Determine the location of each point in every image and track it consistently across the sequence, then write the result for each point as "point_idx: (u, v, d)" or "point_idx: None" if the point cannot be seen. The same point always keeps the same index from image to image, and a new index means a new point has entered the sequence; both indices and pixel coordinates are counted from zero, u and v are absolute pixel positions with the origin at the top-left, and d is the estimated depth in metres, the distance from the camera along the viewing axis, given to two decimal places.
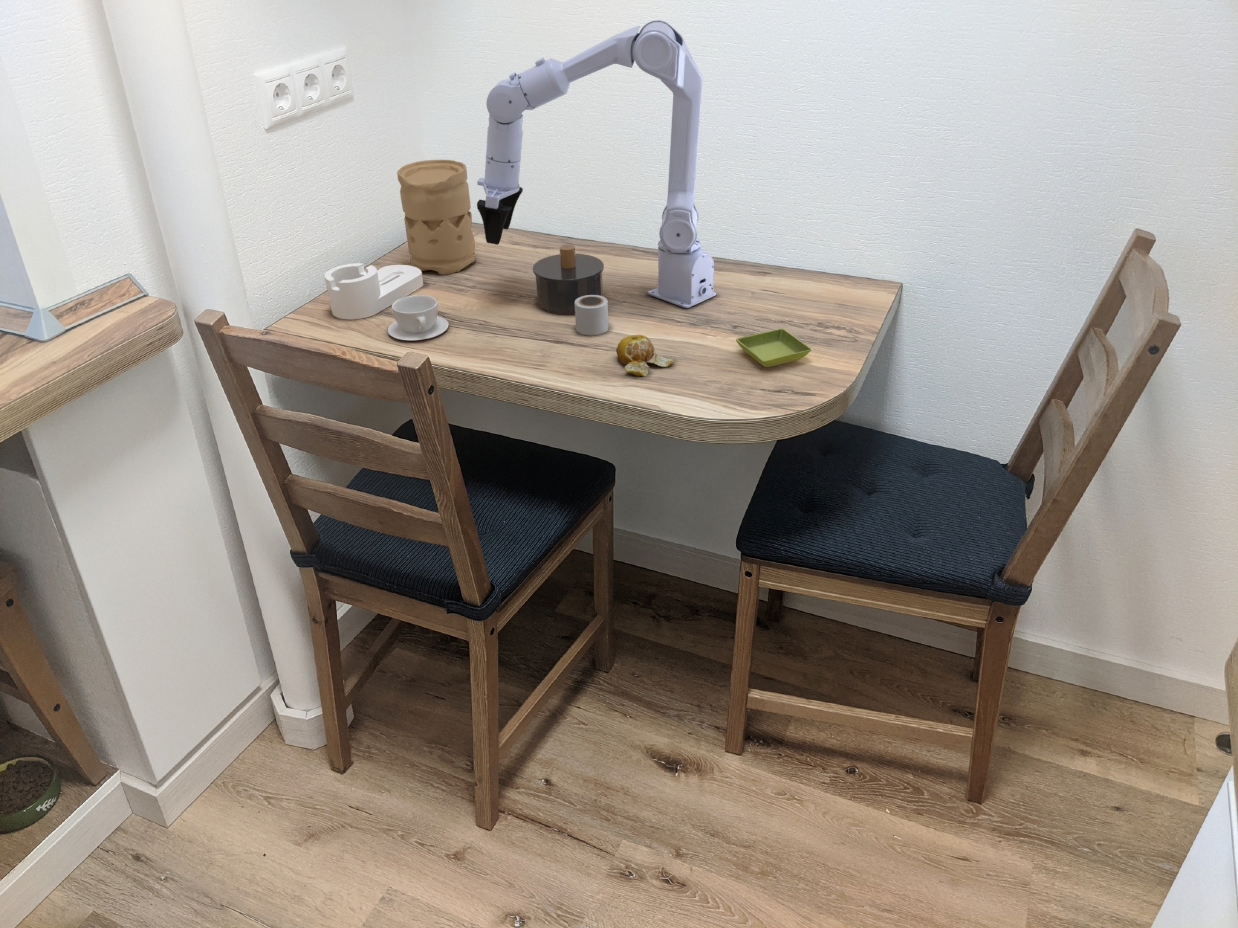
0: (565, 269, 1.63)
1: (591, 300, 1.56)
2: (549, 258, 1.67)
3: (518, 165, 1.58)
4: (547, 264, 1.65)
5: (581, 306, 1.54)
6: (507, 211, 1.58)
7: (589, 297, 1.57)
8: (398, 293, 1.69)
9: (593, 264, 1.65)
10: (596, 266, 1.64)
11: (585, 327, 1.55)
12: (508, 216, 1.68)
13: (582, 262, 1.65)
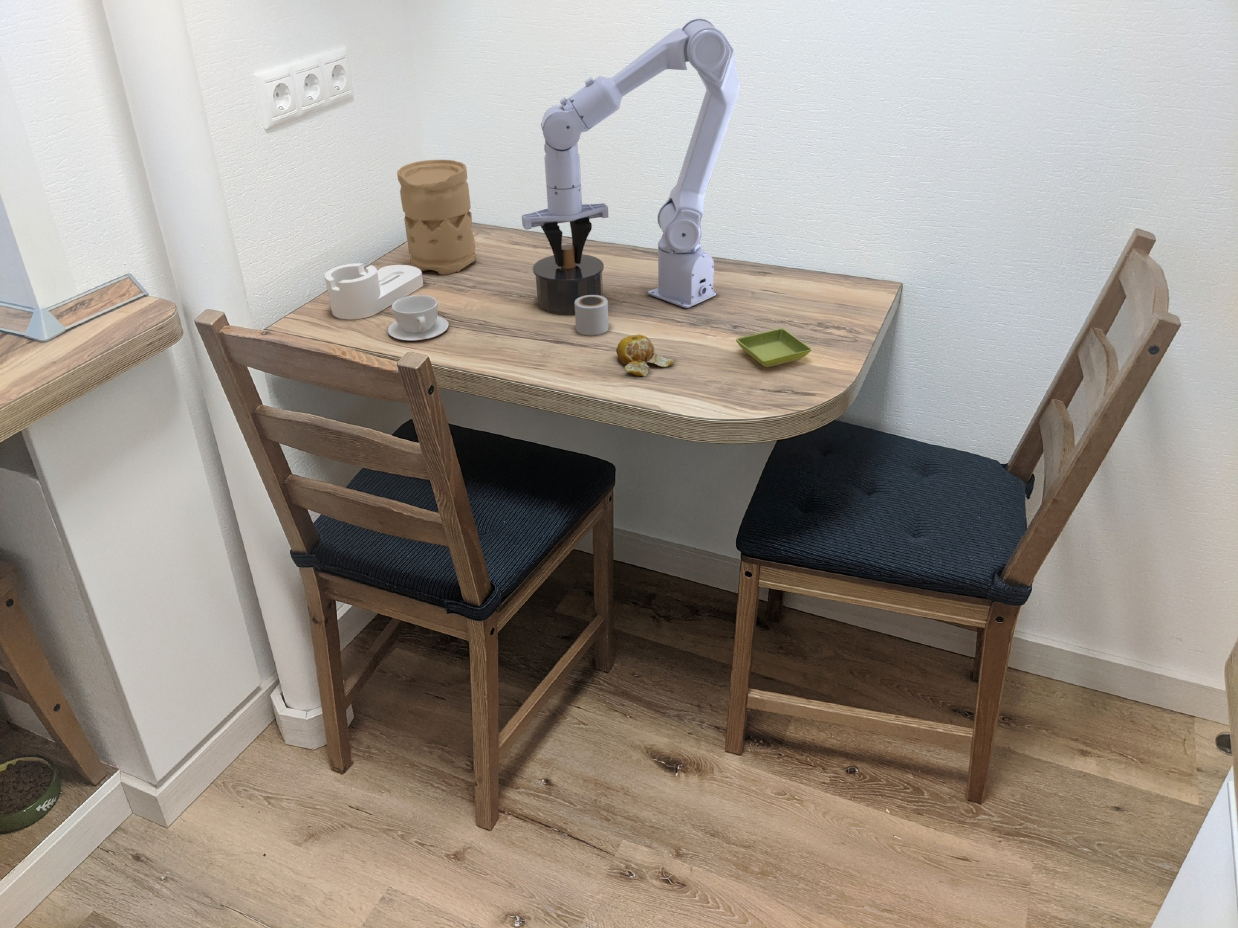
0: (565, 269, 1.63)
1: (591, 300, 1.56)
2: (549, 258, 1.67)
3: (565, 193, 1.54)
4: (547, 264, 1.65)
5: (581, 306, 1.54)
6: (549, 233, 1.57)
7: (589, 297, 1.57)
8: (398, 293, 1.69)
9: (593, 264, 1.65)
10: (596, 266, 1.64)
11: (585, 327, 1.55)
12: (576, 250, 1.62)
13: (582, 262, 1.65)
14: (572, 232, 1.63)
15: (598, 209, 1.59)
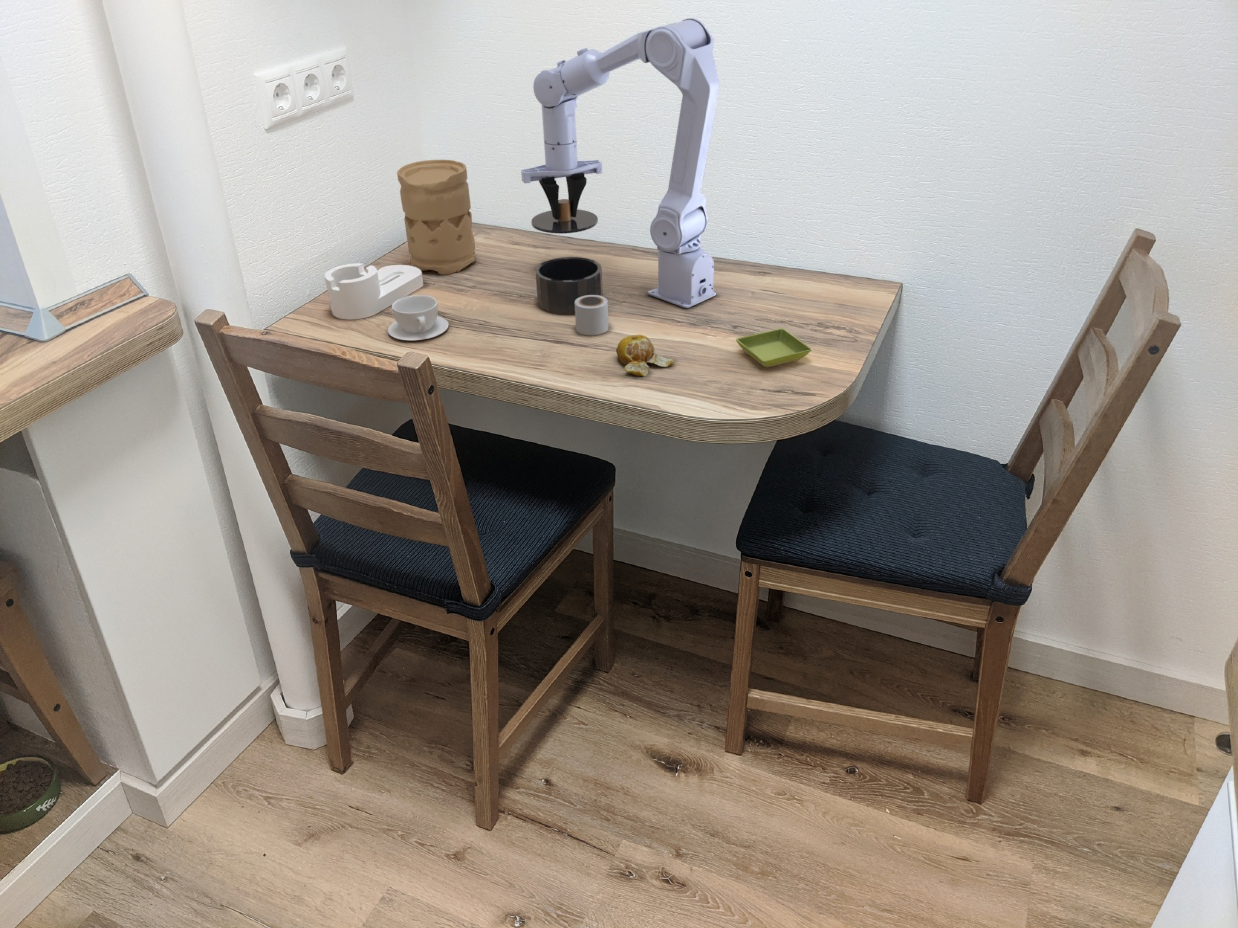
0: (561, 222, 1.74)
1: (591, 300, 1.56)
2: (547, 213, 1.79)
3: (561, 149, 1.66)
4: (545, 218, 1.76)
5: (581, 306, 1.54)
6: (547, 186, 1.68)
7: (589, 297, 1.57)
8: (398, 293, 1.69)
9: (588, 218, 1.76)
10: (591, 219, 1.75)
11: (585, 327, 1.55)
12: (572, 204, 1.73)
13: (577, 216, 1.77)
14: (568, 187, 1.74)
15: (592, 165, 1.71)
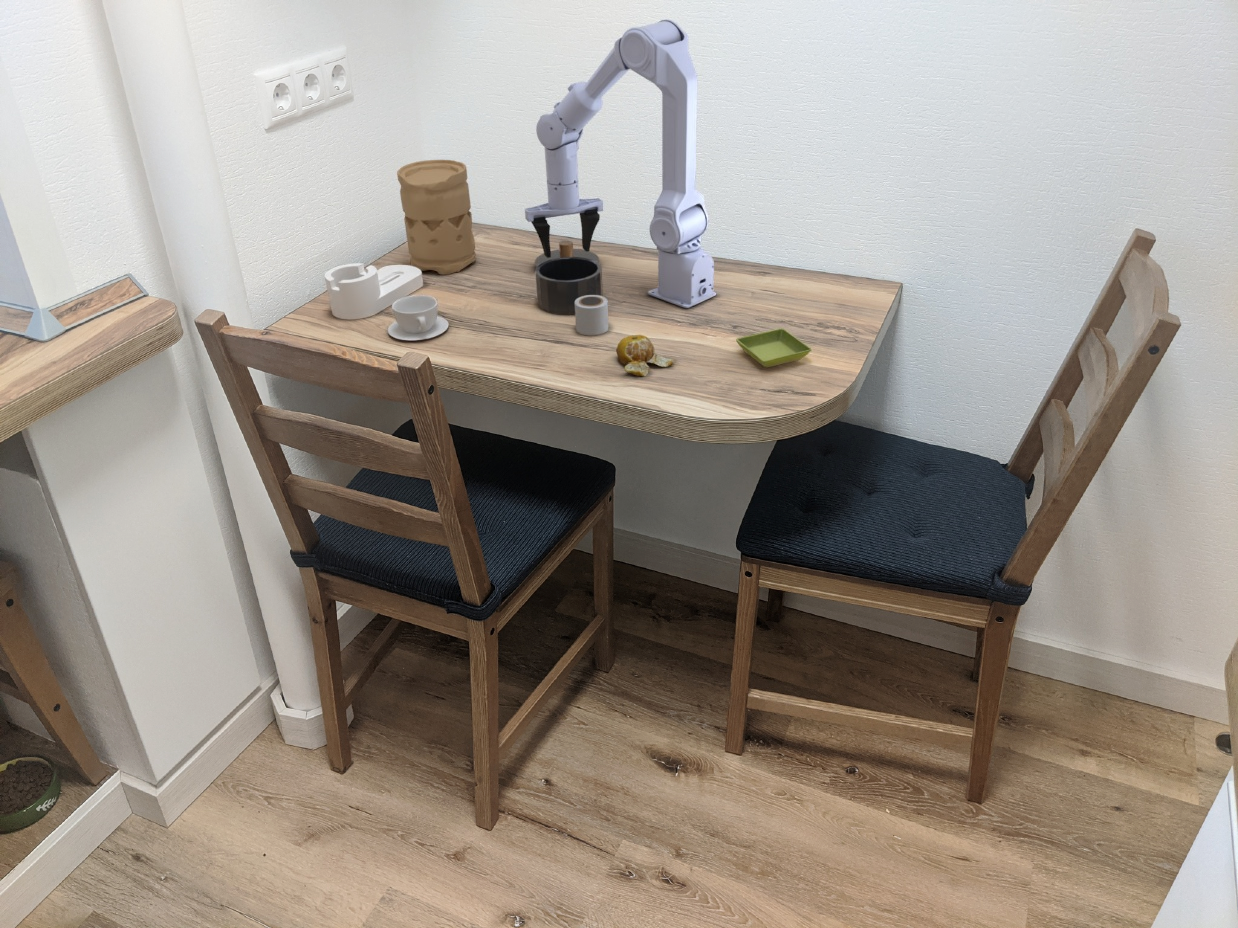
0: None
1: (591, 300, 1.56)
2: None
3: (564, 189, 1.71)
4: (548, 258, 1.82)
5: (581, 306, 1.54)
6: (538, 226, 1.73)
7: (589, 297, 1.57)
8: (398, 293, 1.69)
9: (589, 258, 1.82)
10: None
11: (585, 327, 1.55)
12: (586, 239, 1.79)
13: (579, 256, 1.83)
14: (582, 223, 1.80)
15: (594, 203, 1.76)
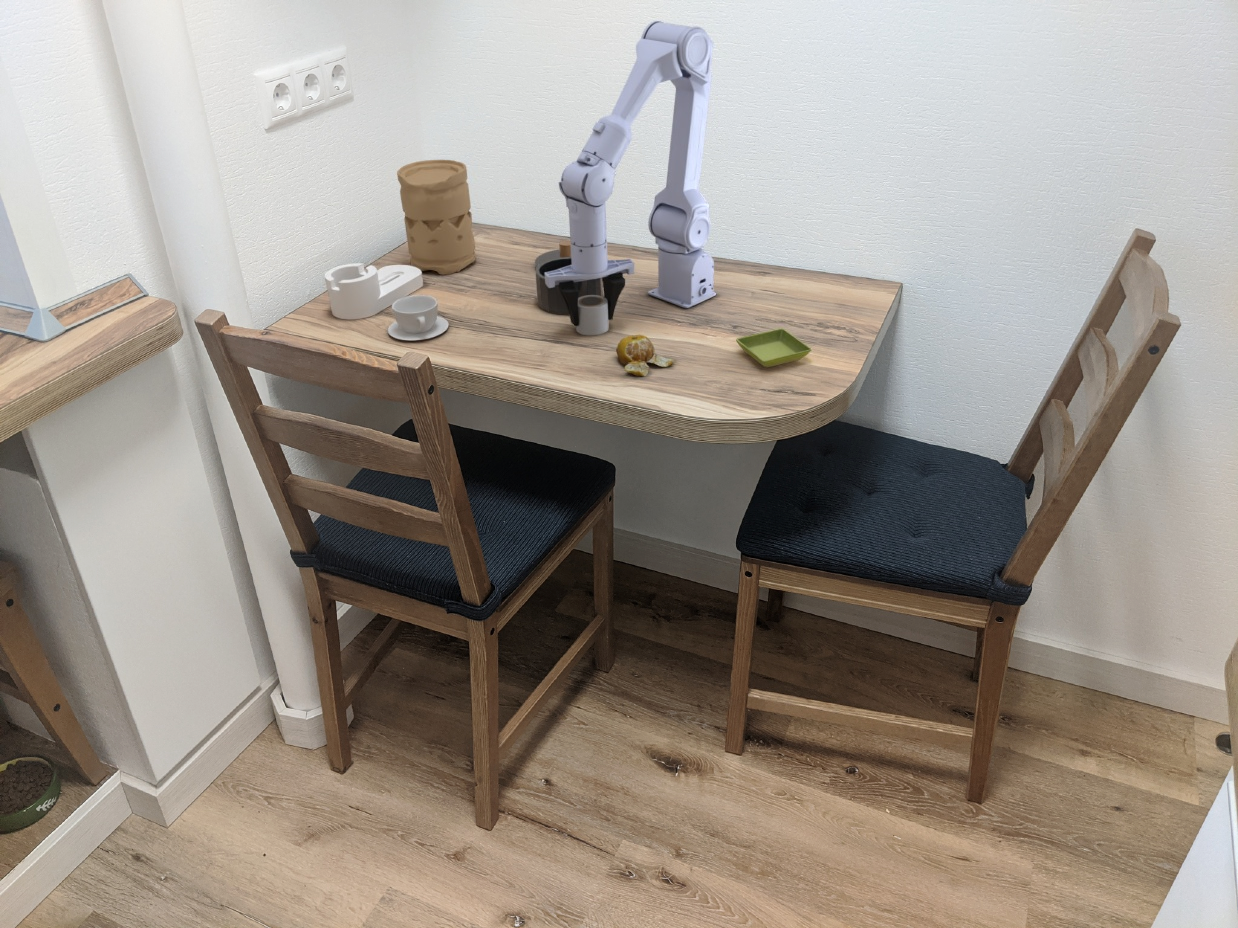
0: None
1: (591, 301, 1.56)
2: (549, 253, 1.85)
3: (590, 251, 1.48)
4: (548, 258, 1.82)
5: (581, 306, 1.54)
6: (565, 292, 1.50)
7: (589, 297, 1.57)
8: (398, 293, 1.69)
9: None
10: None
11: (585, 327, 1.55)
12: (609, 306, 1.56)
13: None
14: (604, 287, 1.56)
15: (624, 266, 1.53)
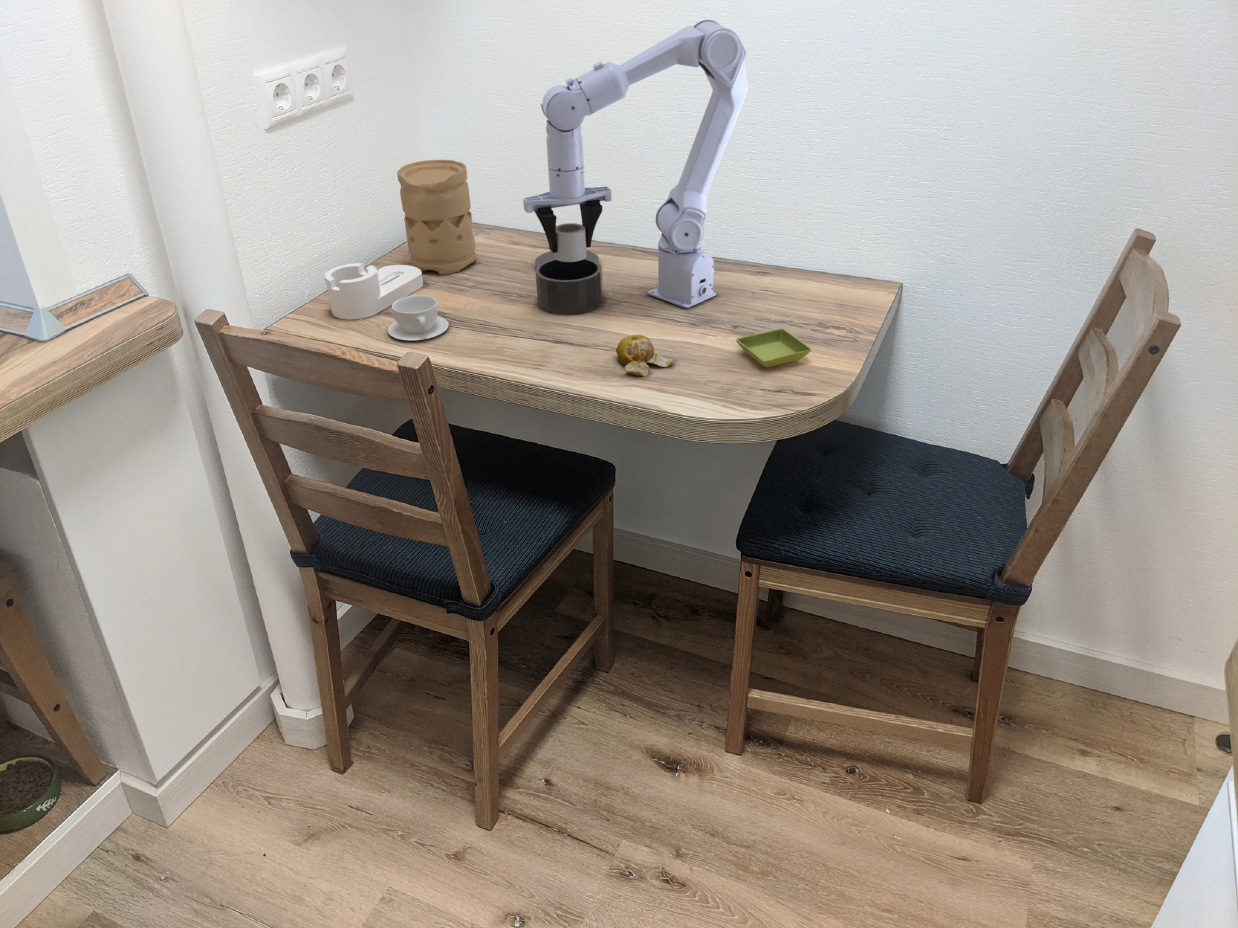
0: None
1: (569, 228, 1.59)
2: (549, 253, 1.85)
3: (567, 176, 1.51)
4: (548, 258, 1.82)
5: (559, 232, 1.57)
6: (543, 217, 1.53)
7: (567, 225, 1.60)
8: (398, 293, 1.69)
9: (589, 258, 1.82)
10: None
11: (563, 253, 1.58)
12: (587, 233, 1.59)
13: None
14: (582, 215, 1.60)
15: (601, 192, 1.56)
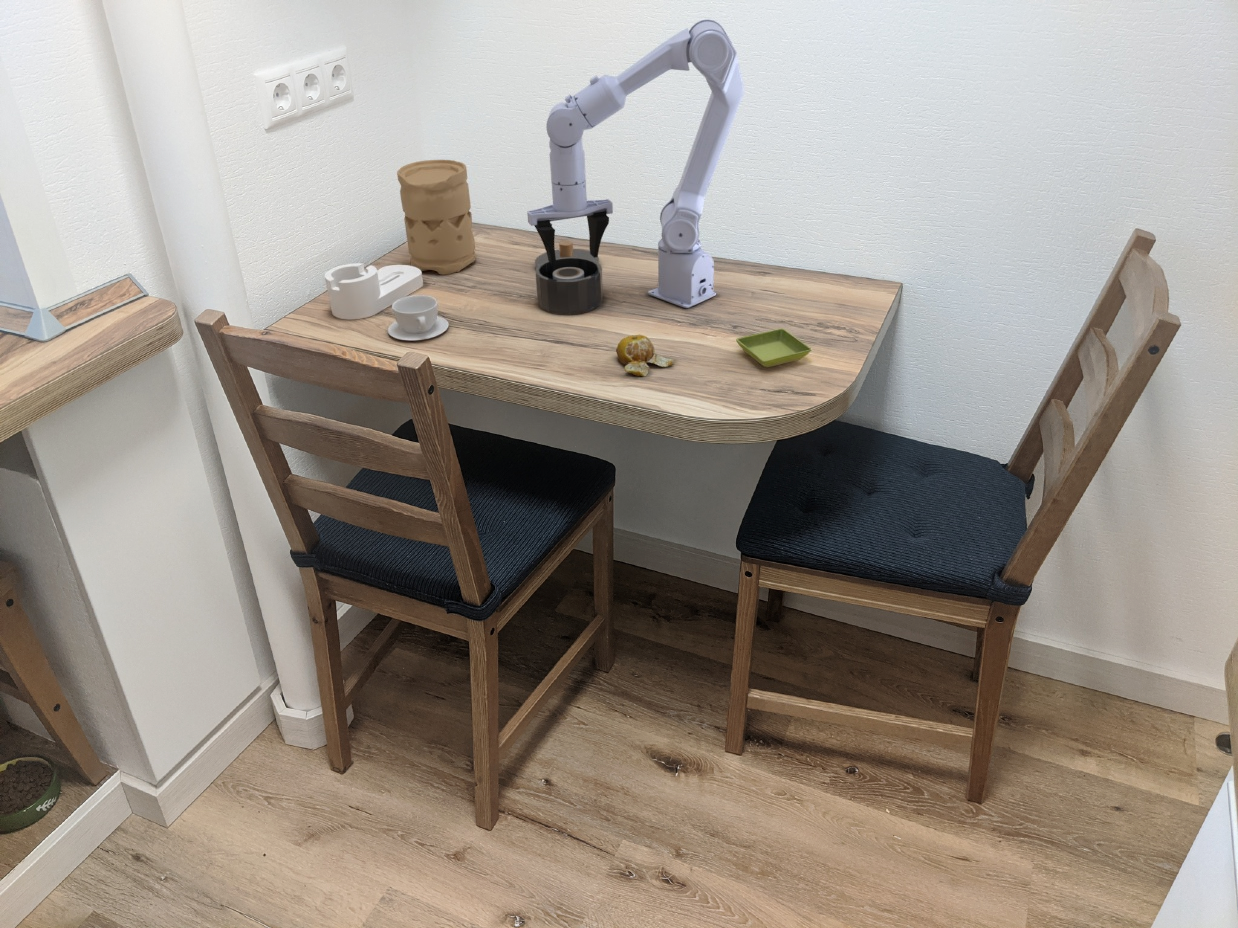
0: None
1: (568, 272, 1.65)
2: None
3: (570, 189, 1.56)
4: None
5: (559, 277, 1.63)
6: (542, 230, 1.58)
7: (566, 269, 1.66)
8: (398, 293, 1.69)
9: (589, 258, 1.82)
10: None
11: None
12: (594, 244, 1.65)
13: (579, 256, 1.83)
14: (589, 226, 1.65)
15: (603, 205, 1.61)
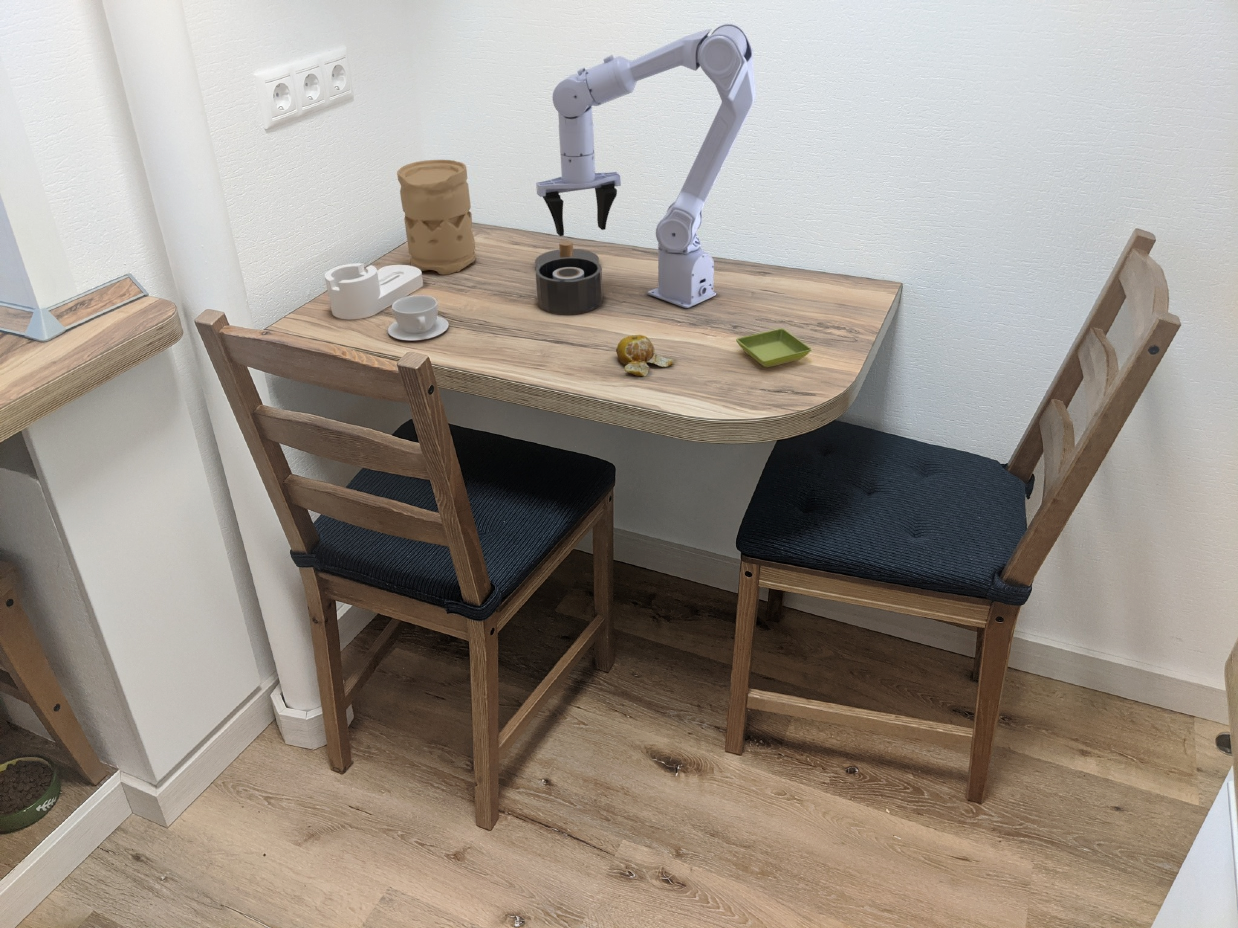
0: None
1: (568, 272, 1.65)
2: (549, 253, 1.85)
3: (579, 161, 1.58)
4: (548, 258, 1.82)
5: (559, 277, 1.63)
6: (550, 201, 1.60)
7: (566, 269, 1.66)
8: (398, 293, 1.69)
9: (589, 258, 1.82)
10: None
11: None
12: (602, 216, 1.66)
13: (579, 256, 1.83)
14: (597, 199, 1.67)
15: (611, 177, 1.63)
